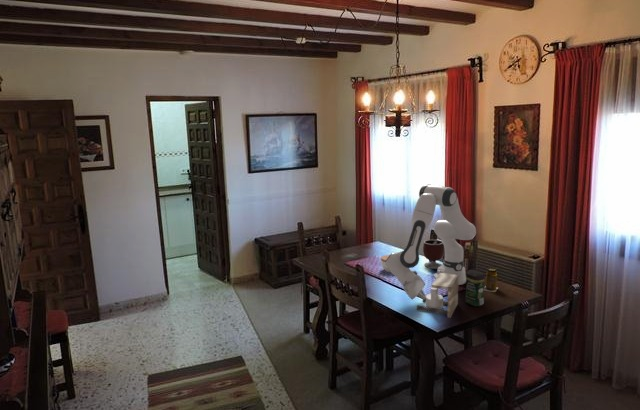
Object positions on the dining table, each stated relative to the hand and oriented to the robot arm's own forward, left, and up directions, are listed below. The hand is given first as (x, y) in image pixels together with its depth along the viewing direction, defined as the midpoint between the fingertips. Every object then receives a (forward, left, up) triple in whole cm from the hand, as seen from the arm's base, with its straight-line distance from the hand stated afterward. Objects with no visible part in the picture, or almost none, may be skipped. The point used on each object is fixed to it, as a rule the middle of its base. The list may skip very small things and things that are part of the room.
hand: (425, 298), depth 240 cm
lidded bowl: (-62, +5, -5) cm, 62 cm away
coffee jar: (+5, +27, -5) cm, 28 cm away
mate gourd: (-61, +37, -4) cm, 71 cm away
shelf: (+4, +5, -4) cm, 8 cm away
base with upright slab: (+3, +4, -4) cm, 7 cm away
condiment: (-11, +48, -5) cm, 49 cm away
